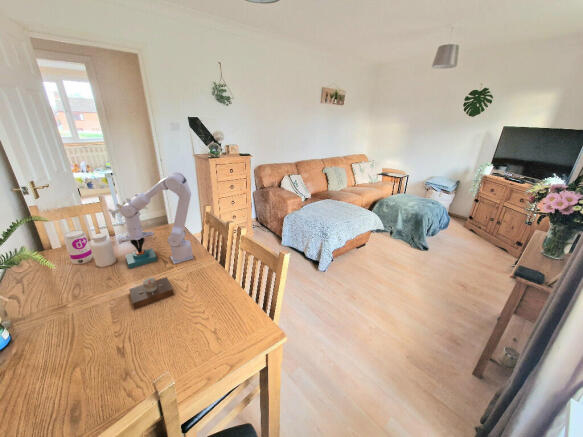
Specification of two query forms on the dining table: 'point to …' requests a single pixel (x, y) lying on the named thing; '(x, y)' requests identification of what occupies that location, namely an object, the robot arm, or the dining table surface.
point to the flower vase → (119, 210)
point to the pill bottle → (102, 250)
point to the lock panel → (151, 293)
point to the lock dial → (150, 284)
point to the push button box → (141, 258)
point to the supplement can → (78, 246)
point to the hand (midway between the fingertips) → (139, 251)
